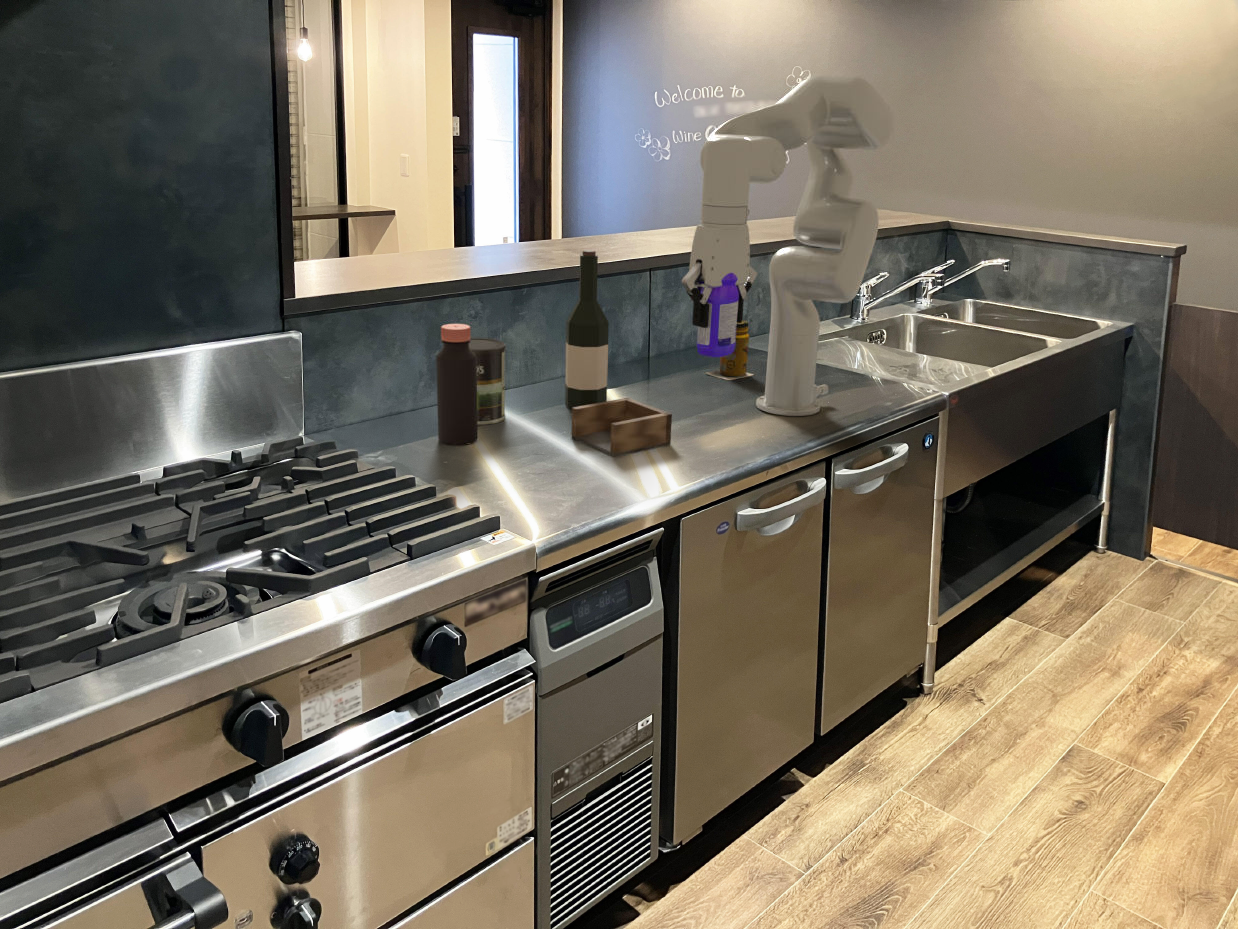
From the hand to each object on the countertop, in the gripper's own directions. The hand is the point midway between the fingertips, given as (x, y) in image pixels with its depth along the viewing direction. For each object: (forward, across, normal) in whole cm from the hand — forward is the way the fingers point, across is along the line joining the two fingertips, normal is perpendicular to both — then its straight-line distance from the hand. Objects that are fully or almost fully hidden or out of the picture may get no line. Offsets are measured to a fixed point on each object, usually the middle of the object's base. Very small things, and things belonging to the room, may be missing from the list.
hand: (717, 323), depth 175 cm
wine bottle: (+22, +3, -32) cm, 39 cm away
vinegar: (+22, +35, -27) cm, 49 cm away
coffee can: (+22, +25, -37) cm, 49 cm away
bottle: (+6, 0, 0) cm, 6 cm away
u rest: (+22, +12, -10) cm, 27 cm away
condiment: (+22, -39, -35) cm, 57 cm away
